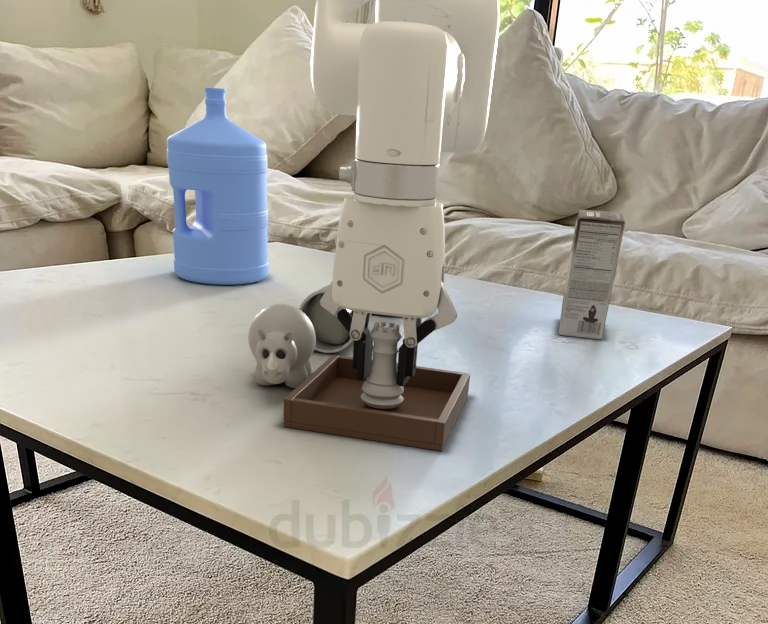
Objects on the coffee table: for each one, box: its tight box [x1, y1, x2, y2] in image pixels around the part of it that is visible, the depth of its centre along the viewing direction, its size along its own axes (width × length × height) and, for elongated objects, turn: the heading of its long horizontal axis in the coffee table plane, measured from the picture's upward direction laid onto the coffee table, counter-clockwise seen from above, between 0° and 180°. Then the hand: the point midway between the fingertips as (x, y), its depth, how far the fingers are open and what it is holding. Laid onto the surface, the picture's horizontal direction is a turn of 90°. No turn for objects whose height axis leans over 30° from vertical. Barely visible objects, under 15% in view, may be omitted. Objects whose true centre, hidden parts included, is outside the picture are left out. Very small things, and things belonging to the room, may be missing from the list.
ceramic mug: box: [298, 284, 354, 354], centre depth 99 cm, size 11×8×8 cm
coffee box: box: [558, 209, 626, 340], centre depth 111 cm, size 9×6×16 cm
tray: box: [283, 354, 471, 452], centre depth 80 cm, size 16×16×3 cm
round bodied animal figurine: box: [247, 303, 316, 389], centre depth 82 cm, size 7×12×8 cm, turn 177°
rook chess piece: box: [361, 320, 404, 409], centre depth 78 cm, size 4×4×8 cm
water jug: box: [166, 87, 270, 286], centre depth 125 cm, size 16×16×28 cm
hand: (383, 377), depth 79 cm, fingers closed on rook chess piece, 3 cm apart
